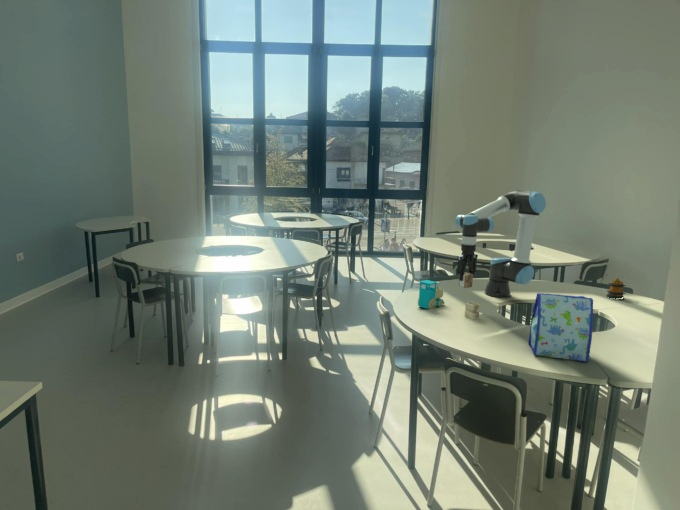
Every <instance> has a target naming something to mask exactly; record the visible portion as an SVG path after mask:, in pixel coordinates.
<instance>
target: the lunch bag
mask: <svg viewBox="0 0 680 510" xmlns="http://www.w3.org/2000/svg"><path fill="white" fill-rule="evenodd" d="M593 320H594V299H593V298H592V297H587V296H584V295H583V296H582V295H580V296H579V295H578V296H576V295H566V294H564V295H563V294H558V293H557V294H554V293H553V294H552V293H540V292H537V293H536V297H535V301H534V304H533V307H532V316H531V321H530V326H529V327H530V328H529V329H530V330H529V336H528V346H529V347H530V348H531V351H532V353H533V356H534V355H536V356H539V357H540V356H541V357H546V358H555V359H561V358H563V360H569V359H571V360H570V361H577V360H578V361H577V362H585V361H586V362H585V363H588V362H589V358H590V352H591V347H592V341H593V323H594V321H593Z"/></svg>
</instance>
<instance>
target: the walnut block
mask: <svg viewBox="0 0 680 510" xmlns="http://www.w3.org/2000/svg"><path fill="white" fill-rule="evenodd" d="M464 275H465V283H464V287H463V288H464V289H469V288H472V287H473V281H474V280H473V279H474V274H470V273H469V272H465V273H464ZM458 277H459V278H458V286H459V285H460V280H459V279H460V275H459V276H458Z"/></svg>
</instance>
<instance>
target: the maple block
mask: <svg viewBox="0 0 680 510" xmlns="http://www.w3.org/2000/svg"><path fill="white" fill-rule="evenodd" d="M480 308H481V304H480V303H476V302H473V301H471V302H466V303H465V308H464V316H465V318H467V317H468V319H470V318H471V319H470V320H475V318H476V319H479V318H480V314H479V312H480Z"/></svg>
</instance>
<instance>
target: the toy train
mask: <svg viewBox="0 0 680 510" xmlns="http://www.w3.org/2000/svg"><path fill="white" fill-rule="evenodd" d="M440 283H441V282H440V281H433V280H429V279H425V280H421V281H420V282H419V295H418V299H417V305H418V307H420V308H423V309H425V310H426V309H427V310H432V309H435V308H436V307H439V308H441V307H442V306H443V305H444V304H445V301H444V299H443V296H444V290H443V289H442V287H440ZM432 285H434V286H433V287H432ZM422 286H425V288H423V287H422Z"/></svg>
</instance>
